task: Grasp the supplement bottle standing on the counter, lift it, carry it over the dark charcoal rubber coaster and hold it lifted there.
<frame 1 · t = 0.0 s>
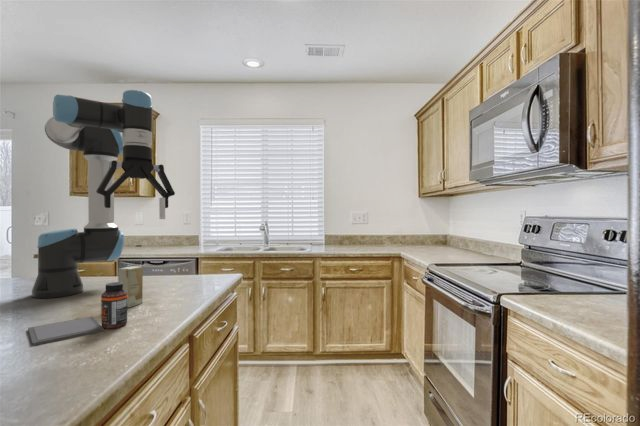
hand: (138, 219, 101), 28 cm above the countertop, fingers open, 13 cm apart
supplement bottle: (114, 326, 93), on the countertop
coaster: (65, 330, 89), on the countertop
skincare box: (130, 305, 113), on the countertop
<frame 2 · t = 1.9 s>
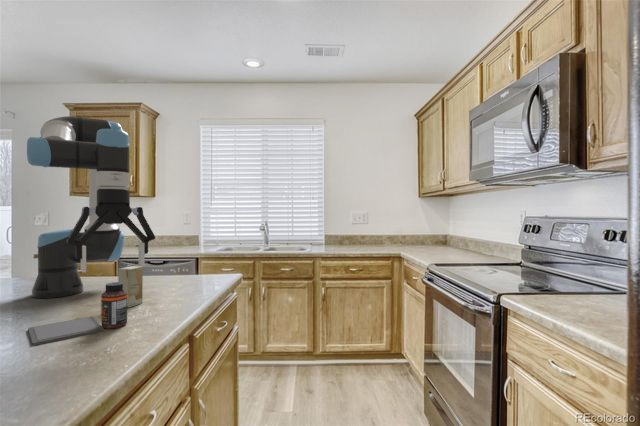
hand: (113, 268, 93), 15 cm above the countertop, fingers open, 13 cm apart
nothing on the countertop moved.
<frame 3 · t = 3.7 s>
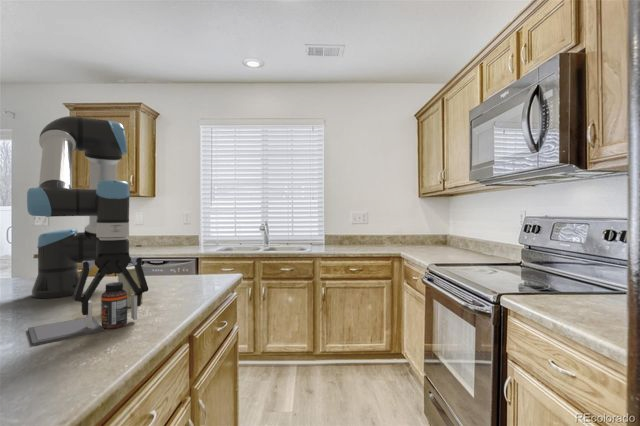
hand: (112, 322, 93), 1 cm above the countertop, fingers open, 10 cm apart
nothing on the countertop moved.
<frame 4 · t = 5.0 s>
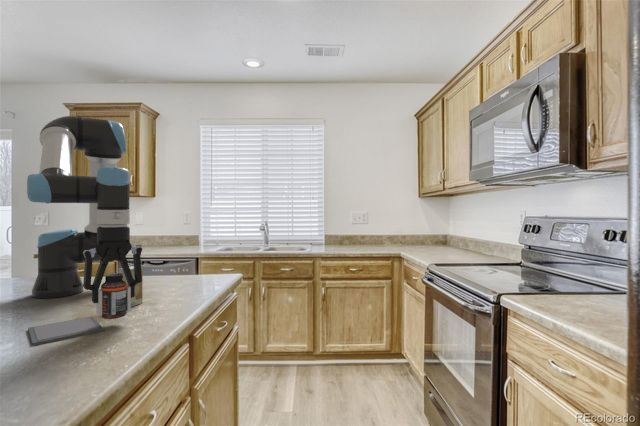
hand: (113, 312, 93), 4 cm above the countertop, fingers closed on supplement bottle, 6 cm apart
supplement bottle: (113, 317, 93), point 2 cm above the countertop, touching gripper
everything else where it was.
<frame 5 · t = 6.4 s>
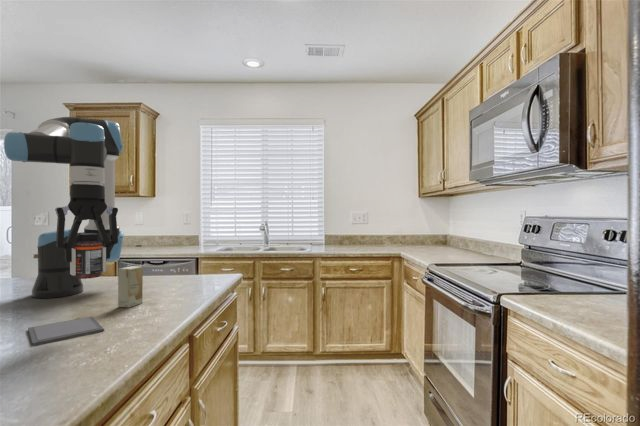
hand: (88, 272, 91), 14 cm above the countertop, fingers closed on supplement bottle, 6 cm apart
supplement bottle: (88, 277, 91), point 13 cm above the countertop, touching gripper
everything else where it was.
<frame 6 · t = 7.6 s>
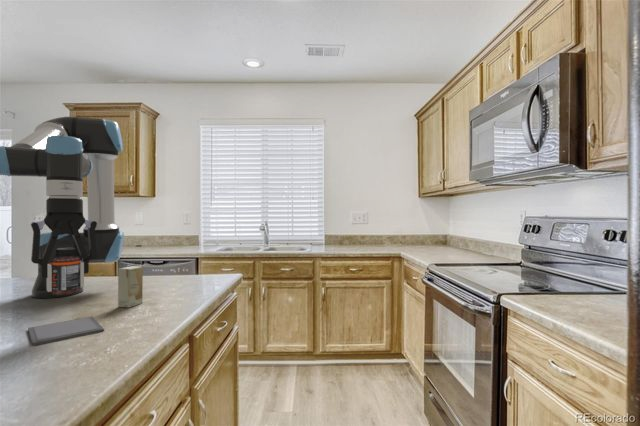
hand: (65, 288, 89), 11 cm above the countertop, fingers closed on supplement bottle, 6 cm apart
supplement bottle: (65, 293, 89), point 10 cm above the countertop, touching gripper
everything else where it was.
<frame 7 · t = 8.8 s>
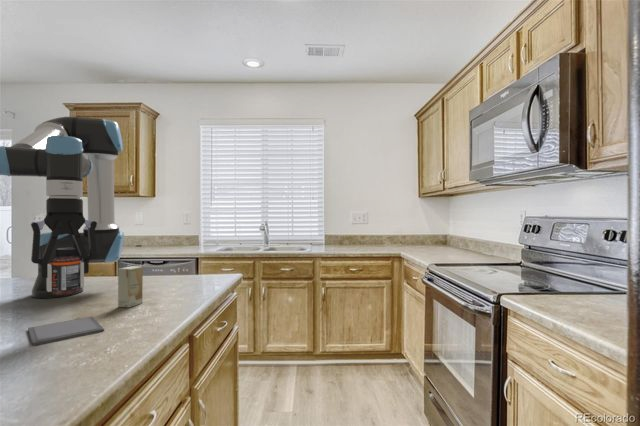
hand: (65, 288, 89), 11 cm above the countertop, fingers closed on supplement bottle, 6 cm apart
supplement bottle: (65, 293, 89), point 10 cm above the countertop, touching gripper
everything else where it was.
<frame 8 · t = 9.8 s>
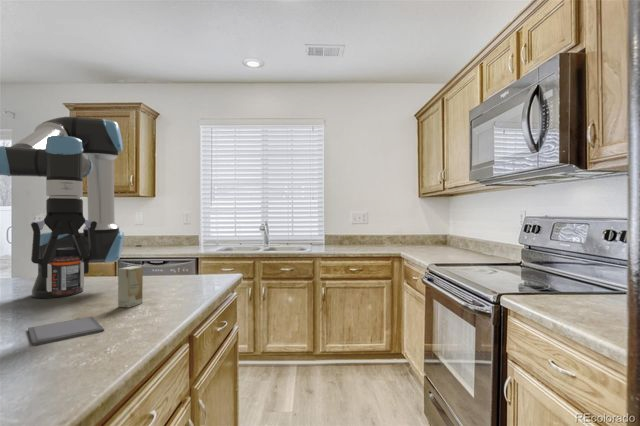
hand: (65, 288, 89), 11 cm above the countertop, fingers closed on supplement bottle, 6 cm apart
supplement bottle: (65, 293, 89), point 10 cm above the countertop, touching gripper
everything else where it was.
at the end: the gripper is holding supplement bottle; supplement bottle point 9.5 cm above the countertop; supplement bottle inside the target area on the coaster (0.1 cm from its centre), point 9.5 cm above the coaster's base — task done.
